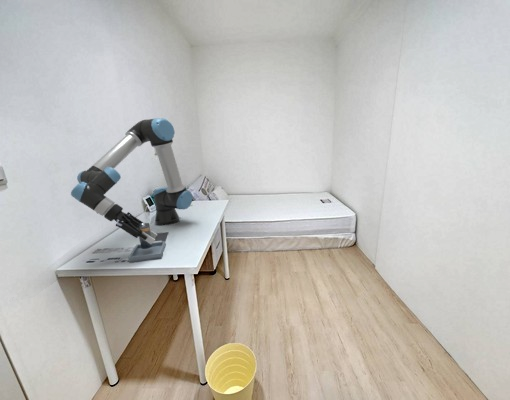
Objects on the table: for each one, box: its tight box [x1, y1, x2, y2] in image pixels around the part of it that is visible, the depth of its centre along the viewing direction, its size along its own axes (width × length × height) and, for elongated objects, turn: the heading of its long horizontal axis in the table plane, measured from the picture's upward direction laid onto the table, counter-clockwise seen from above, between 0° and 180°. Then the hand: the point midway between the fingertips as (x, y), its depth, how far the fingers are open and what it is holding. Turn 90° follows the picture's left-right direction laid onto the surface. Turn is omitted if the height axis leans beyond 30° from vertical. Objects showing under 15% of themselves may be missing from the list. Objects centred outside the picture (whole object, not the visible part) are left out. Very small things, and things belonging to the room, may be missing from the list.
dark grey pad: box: [153, 231, 170, 243], centre depth 128 cm, size 14×12×1 cm
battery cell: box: [137, 222, 153, 249], centre depth 109 cm, size 5×5×12 cm
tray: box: [128, 241, 167, 263], centre depth 112 cm, size 14×14×2 cm
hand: (154, 239), depth 111 cm, fingers closed on battery cell, 5 cm apart
